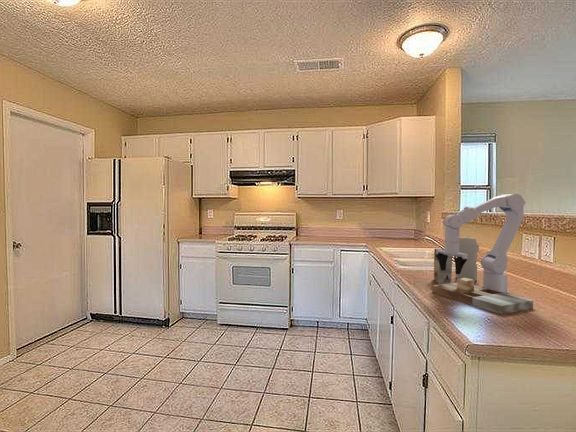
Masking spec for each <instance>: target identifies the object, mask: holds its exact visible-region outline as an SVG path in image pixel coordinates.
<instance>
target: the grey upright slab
mask: <svg viewBox="0 0 576 432" xmlns="http://www.w3.org/2000/svg"><path fill="white" fill-rule="evenodd" d="M479 251H480V245H479V244H478V241H477V239H476V238H473V237H470V236H469V237H467V236H464V237H459V252H460V253H464V254H468V259H467V261H466V262H465V264H464V265H463V267H462V270H461V273H460V274H456V273H455V278H456V279H457V278H468V279H472V280H474V282H475V281H478V265H477V263H478V262H477V258H478V257H477V256H478V253H479ZM456 258H458V257H456Z"/></svg>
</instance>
